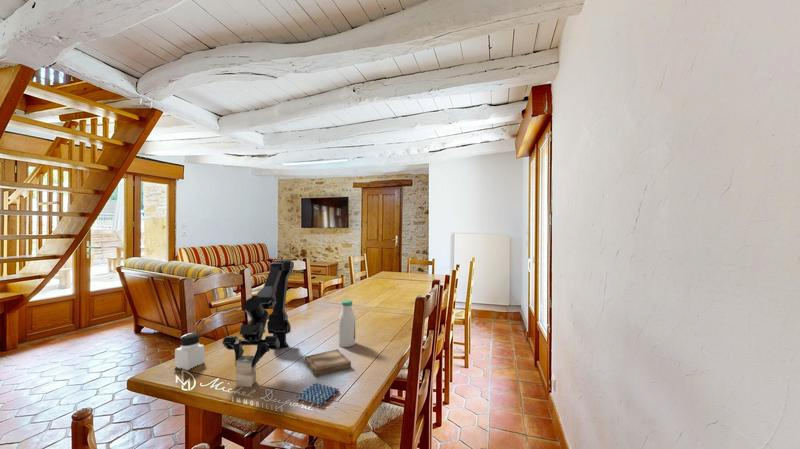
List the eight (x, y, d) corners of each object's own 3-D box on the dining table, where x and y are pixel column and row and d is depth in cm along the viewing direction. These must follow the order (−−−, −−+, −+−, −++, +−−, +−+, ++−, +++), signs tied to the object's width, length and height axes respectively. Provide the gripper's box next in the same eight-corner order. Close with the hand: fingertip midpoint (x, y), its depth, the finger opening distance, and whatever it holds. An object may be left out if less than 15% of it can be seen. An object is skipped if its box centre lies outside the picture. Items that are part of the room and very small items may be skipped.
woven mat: (322, 411, 97) (322, 404, 97) (294, 403, 101) (294, 396, 101) (341, 393, 106) (341, 387, 106) (315, 387, 110) (315, 381, 110)
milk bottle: (351, 348, 143) (352, 303, 142) (335, 346, 144) (336, 302, 144) (357, 341, 150) (357, 299, 150) (342, 340, 152) (342, 298, 152)
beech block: (241, 380, 113) (241, 355, 113) (256, 380, 113) (256, 355, 113) (235, 387, 109) (236, 360, 109) (251, 386, 109) (251, 360, 109)
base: (304, 362, 128) (304, 356, 128) (337, 355, 135) (337, 348, 135) (315, 377, 116) (315, 370, 116) (350, 368, 124) (350, 361, 124)
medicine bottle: (204, 362, 127) (205, 332, 127) (187, 370, 120) (187, 339, 120) (191, 359, 129) (191, 330, 129) (174, 367, 123) (174, 336, 122)
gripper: (224, 314, 114) (207, 357, 103) (277, 314, 115) (265, 357, 104) (235, 328, 122) (220, 370, 111) (284, 328, 123) (274, 370, 112)
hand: (244, 366), depth 110 cm, fingers closed on beech block, 5 cm apart
